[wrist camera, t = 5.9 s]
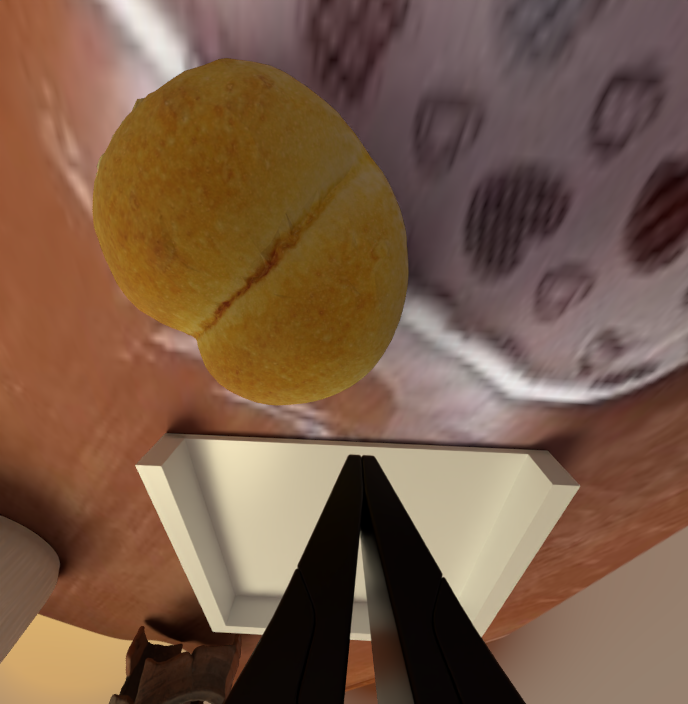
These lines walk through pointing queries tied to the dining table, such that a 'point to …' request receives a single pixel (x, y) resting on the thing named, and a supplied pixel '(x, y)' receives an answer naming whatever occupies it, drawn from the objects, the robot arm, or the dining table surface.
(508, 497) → the tray
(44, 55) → the dining table surface
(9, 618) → the ramekin
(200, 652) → the pottery mug
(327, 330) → the bread roll
